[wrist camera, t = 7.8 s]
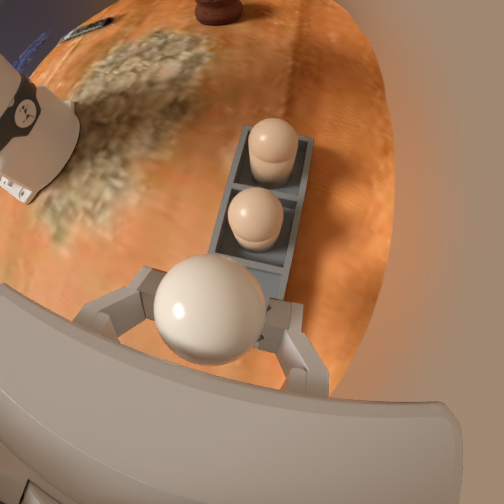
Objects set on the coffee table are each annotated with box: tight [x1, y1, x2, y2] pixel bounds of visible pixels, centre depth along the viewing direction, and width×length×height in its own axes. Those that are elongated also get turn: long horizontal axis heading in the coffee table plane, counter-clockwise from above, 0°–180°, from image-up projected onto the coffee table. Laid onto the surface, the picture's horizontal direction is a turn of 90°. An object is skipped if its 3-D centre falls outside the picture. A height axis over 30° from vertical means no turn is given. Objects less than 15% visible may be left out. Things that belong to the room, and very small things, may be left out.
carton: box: [208, 118, 314, 348], centre depth 24 cm, size 8×22×9 cm, turn 167°
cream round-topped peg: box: [153, 254, 266, 366], centre depth 12 cm, size 4×4×8 cm
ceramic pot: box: [195, 0, 243, 26], centre depth 32 cm, size 18×18×7 cm
